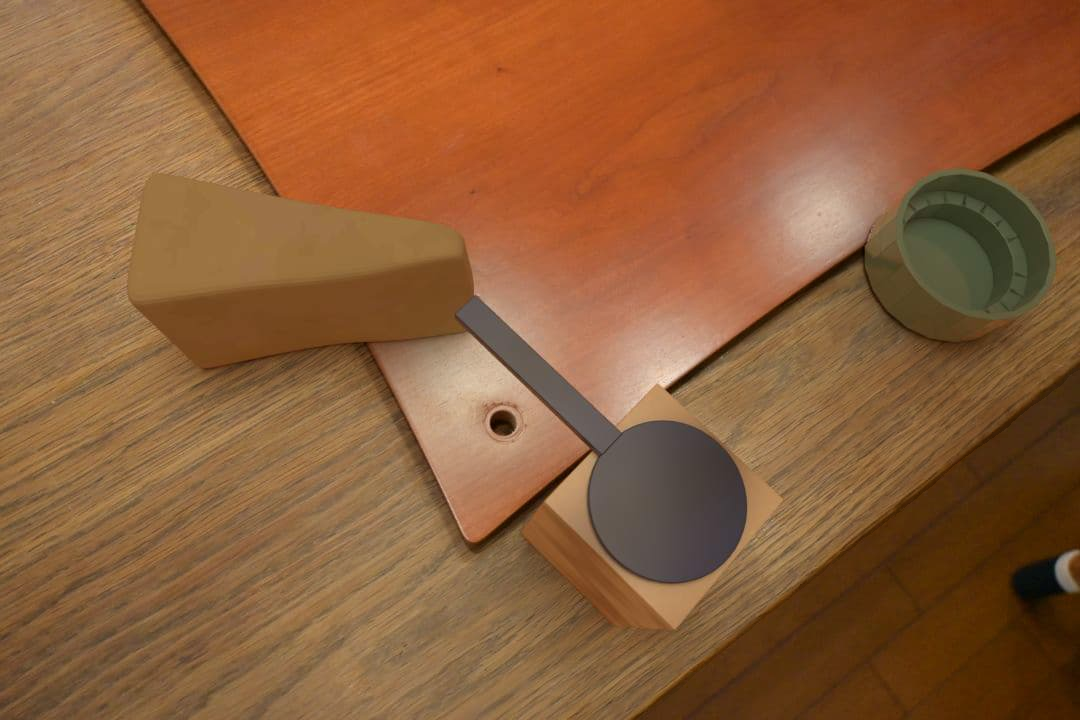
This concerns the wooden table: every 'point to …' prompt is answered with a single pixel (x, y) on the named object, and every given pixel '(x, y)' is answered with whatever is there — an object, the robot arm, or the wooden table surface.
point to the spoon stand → (634, 494)
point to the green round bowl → (960, 255)
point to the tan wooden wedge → (287, 272)
